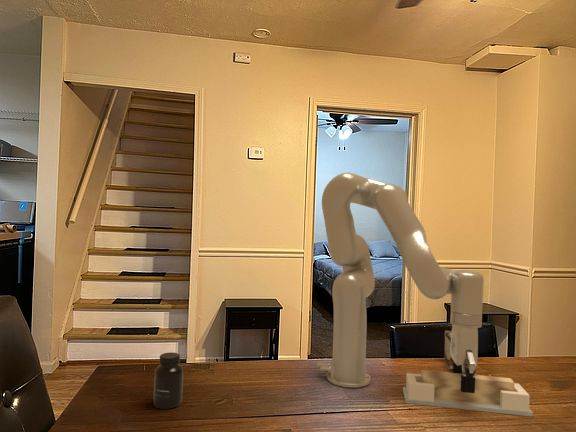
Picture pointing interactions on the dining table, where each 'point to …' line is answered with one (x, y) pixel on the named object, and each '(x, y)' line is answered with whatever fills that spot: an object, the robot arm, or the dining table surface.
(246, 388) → the dining table surface
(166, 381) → the supplement bottle
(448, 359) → the food container
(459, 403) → the frame
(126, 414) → the dining table surface
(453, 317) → the robot arm
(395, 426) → the dining table surface
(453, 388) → the slat
